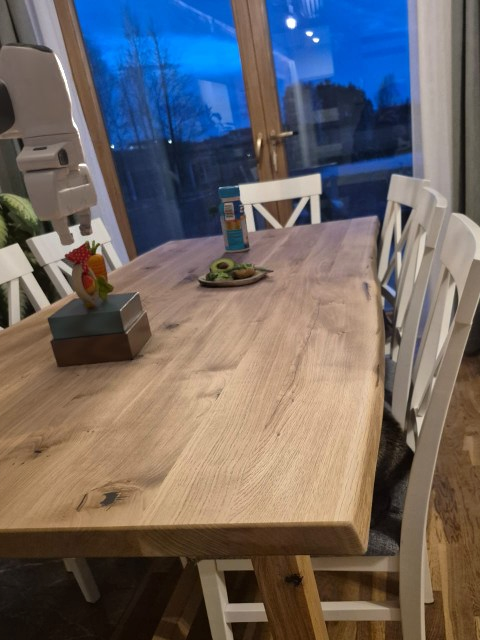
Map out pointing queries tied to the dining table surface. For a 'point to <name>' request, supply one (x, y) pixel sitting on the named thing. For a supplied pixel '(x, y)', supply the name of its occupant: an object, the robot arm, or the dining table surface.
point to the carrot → (96, 261)
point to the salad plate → (232, 274)
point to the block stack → (99, 330)
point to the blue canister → (233, 220)
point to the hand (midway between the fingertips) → (78, 239)
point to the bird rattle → (87, 278)
